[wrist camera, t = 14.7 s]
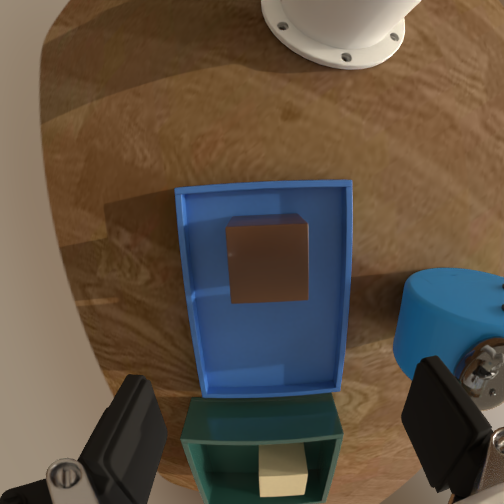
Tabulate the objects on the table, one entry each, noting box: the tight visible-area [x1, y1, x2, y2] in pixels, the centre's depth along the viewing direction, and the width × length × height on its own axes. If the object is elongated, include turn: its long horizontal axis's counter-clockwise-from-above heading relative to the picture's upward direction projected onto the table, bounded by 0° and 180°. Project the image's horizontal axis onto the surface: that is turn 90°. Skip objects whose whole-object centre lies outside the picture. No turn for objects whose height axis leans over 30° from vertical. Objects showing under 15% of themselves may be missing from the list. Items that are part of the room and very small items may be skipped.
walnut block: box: [225, 213, 309, 304], centre depth 21 cm, size 5×5×5 cm
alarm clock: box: [393, 268, 504, 411], centre depth 18 cm, size 13×6×15 cm, turn 90°
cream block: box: [259, 442, 308, 497], centre depth 27 cm, size 5×5×5 cm
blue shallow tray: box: [175, 180, 352, 398], centre depth 24 cm, size 19×13×2 cm
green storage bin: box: [180, 392, 344, 504], centre depth 27 cm, size 14×14×6 cm
